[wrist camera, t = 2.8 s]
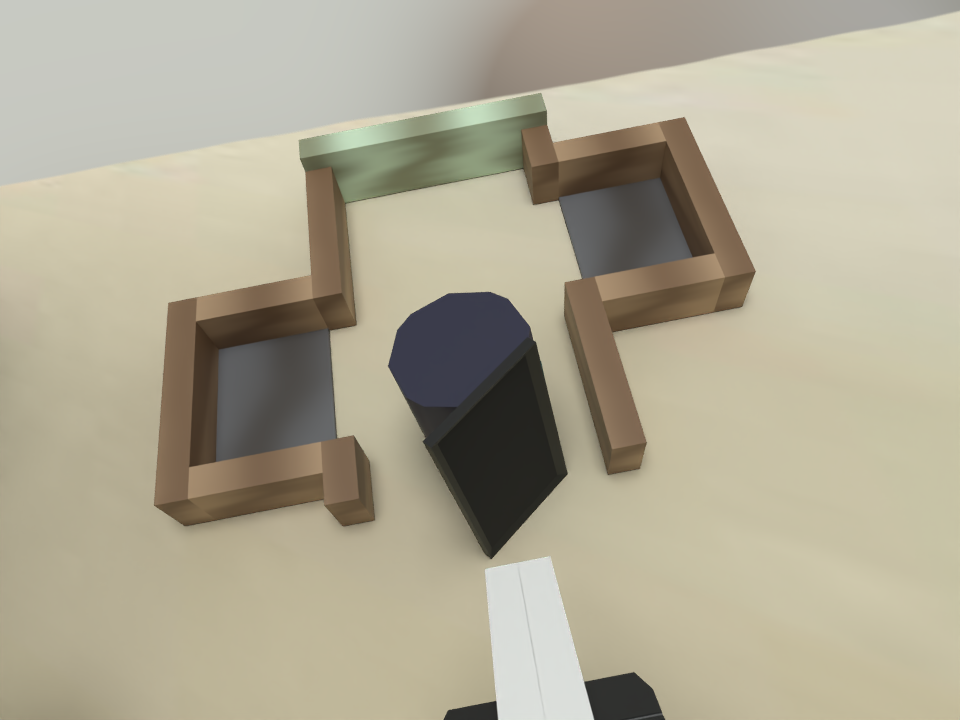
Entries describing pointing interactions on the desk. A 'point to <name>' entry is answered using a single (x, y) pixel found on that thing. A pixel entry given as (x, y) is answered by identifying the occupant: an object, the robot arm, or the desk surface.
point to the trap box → (330, 304)
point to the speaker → (481, 408)
